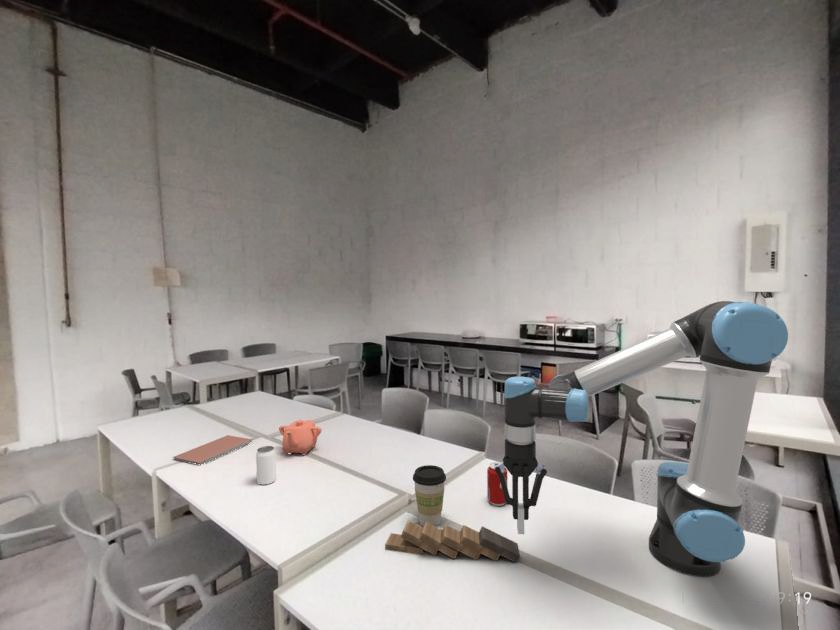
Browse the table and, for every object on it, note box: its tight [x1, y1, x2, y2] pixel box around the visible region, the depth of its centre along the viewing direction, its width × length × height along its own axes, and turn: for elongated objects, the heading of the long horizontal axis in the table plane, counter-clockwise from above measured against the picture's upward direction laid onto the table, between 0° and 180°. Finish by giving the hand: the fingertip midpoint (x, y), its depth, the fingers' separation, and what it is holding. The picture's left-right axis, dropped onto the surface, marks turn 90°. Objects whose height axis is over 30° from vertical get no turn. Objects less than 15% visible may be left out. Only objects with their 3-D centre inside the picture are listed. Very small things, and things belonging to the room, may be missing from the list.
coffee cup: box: [412, 464, 447, 527], centre depth 118 cm, size 10×10×15 cm
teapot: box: [278, 419, 322, 455], centre depth 172 cm, size 17×16×13 cm
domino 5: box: [459, 524, 501, 562], centre depth 103 cm, size 2×5×10 cm
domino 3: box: [419, 522, 459, 560], centre depth 104 cm, size 2×5×10 cm
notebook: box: [172, 434, 253, 466], centre depth 175 cm, size 27×17×2 cm, turn 157°
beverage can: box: [486, 462, 508, 507], centre depth 128 cm, size 6×6×12 cm
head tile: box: [478, 526, 521, 564], centre depth 102 cm, size 2×5×10 cm
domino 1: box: [384, 532, 425, 555], centre depth 107 cm, size 2×5×10 cm
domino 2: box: [401, 520, 439, 557], centre depth 106 cm, size 2×5×10 cm
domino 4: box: [441, 524, 482, 561], centre depth 103 cm, size 2×5×10 cm
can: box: [255, 445, 277, 486], centre depth 145 cm, size 6×6×12 cm
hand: (520, 530), depth 101 cm, fingers closed
